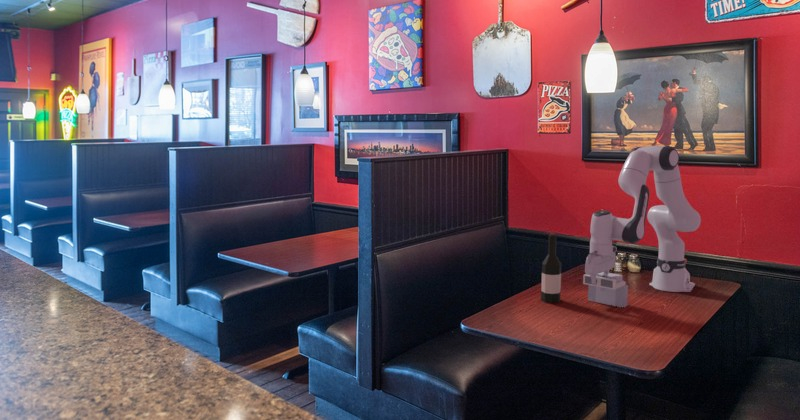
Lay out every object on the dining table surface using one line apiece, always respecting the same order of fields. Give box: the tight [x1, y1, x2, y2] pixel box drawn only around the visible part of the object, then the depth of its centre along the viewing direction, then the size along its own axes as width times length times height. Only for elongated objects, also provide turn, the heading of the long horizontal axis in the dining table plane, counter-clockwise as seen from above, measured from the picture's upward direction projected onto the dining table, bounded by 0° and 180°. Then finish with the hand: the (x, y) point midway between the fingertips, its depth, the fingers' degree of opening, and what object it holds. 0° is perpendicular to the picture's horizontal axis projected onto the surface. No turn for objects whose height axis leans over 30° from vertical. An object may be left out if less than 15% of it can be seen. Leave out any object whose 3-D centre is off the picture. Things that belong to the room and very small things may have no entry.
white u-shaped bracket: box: [582, 273, 627, 290], centre depth 260 cm, size 10×14×4 cm
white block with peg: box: [587, 271, 629, 309], centre depth 261 cm, size 13×16×12 cm
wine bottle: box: [540, 232, 562, 304], centre depth 266 cm, size 8×8×30 cm
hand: (599, 281), depth 256 cm, fingers open, 8 cm apart
